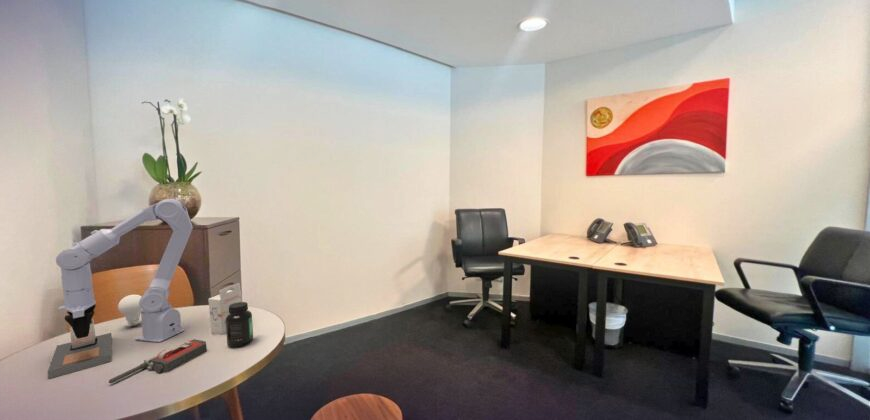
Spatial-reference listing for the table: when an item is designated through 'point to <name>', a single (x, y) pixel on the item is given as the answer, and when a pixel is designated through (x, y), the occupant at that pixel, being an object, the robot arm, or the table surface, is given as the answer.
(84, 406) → the table surface
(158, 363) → the walkie-talkie
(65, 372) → the hole plate
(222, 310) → the ink cartridge box
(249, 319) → the supplement bottle
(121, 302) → the light bulb
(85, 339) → the square peg
